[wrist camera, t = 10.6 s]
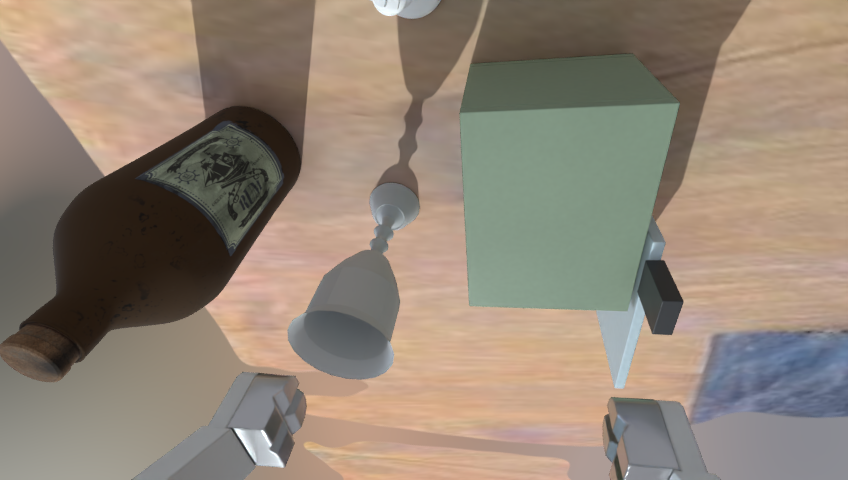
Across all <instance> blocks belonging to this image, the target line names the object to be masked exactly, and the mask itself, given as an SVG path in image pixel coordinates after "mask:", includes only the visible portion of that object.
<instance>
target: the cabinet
mask: <svg viewBox="0 0 848 480" xmlns="http://www.w3.org/2000/svg"><path fill="white" fill-rule="evenodd" d="M679 105H680V102H679V101H678V100H677V99H676V98H675V97H674V96H673V95H672V94H671V93H670V92H669V91H668V90H667V89H666V88H665V87H664V86H663V85H662V84H661V83H660V82H659V81H658V80H657V79H656V78H655V77H654V75H653V74H652V73H651V72H650V71H649V70H648V69H647V68H646V67H645V66H644V65H643V64H642V63H641V62H640V61H639V60H638V59H637V58H636V57H635V55H634V54H632V53H631V54H615V55H600V56H584V57H569V58H553V59H538V60H522V61H507V62H491V63H476V64H470V68H469V73H468V77H467V82H466V86H465V91H464V95H463V100H462V104H461V109H460V113H459V114H460V134H461V154H462V173H463V193H464V212H465V232H466V252H467V271H468V291H469V306H482V307H512V308H541V309H571V310H600V311H628V308H629V304H630V300H631V296H632V292H633V288H634V284H635V280H636V276H637V272H638V268H639V264H640V260H641V256H642V252H643V248H644V244H645V240H646V236H647V232H648V228H649V224H650V220H651V216H652V212H653V208H654V204H655V200H656V196H657V192H658V188H659V184H660V180H661V176H662V172H663V168H664V165H665V161H666V157H667V153H668V149H669V145H670V141H671V137H672V133H673V129H674V125H675V121H676V117H677V113H678V109H679Z"/></svg>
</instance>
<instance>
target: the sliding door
mask: <svg viewBox="0 0 848 480" xmlns="http://www.w3.org/2000/svg"><path fill="white" fill-rule="evenodd" d="M665 243H666V242H665V240H664V238H663V236H662V234H661V232H660V230H659V228H658V226H657V224H656V222H655V220H654V218H653V216H651V220H650V224H649V228H648V232H647V236H646V240H645V244H644V248H643V252H642V256H641V260H640V264H639V268H638V272H637V276H636V280H635V284H634V288H633V292H632V296H631V300H630V304H629V308H628V311H600V310H596V312H597V316H598V321H599V325H600V329H601V333H602V337H603V342H604V346H605V350H606V354H607V358H608V363H609V367H610V371H611V375H612V379H613V383H614V387H615V388H624V386H625V382H626V379H627V375H628V372H629V369H630V365H631V362H632V358H633V355H634V351H635V348H636V344H637V341H638V337H639V334H640V330H641V327H642V323H643V320H644V316H645V315H646V318H647V320H648V323H649V326H650V329H651V331H652V334H663V335H672V333H673V330H674V328H675V325H676V322H677V319H678V316H679V313H680V311H681V308H682V305H683V299H682V297H681V295H680V293H679V291H678V289H677V287H676V284H675V282H674V280H673V278H672V276H671V274H670V272H669V270H668V268H667V265H666V263H665V261H664V260H661V257H662V253H663V250H664V246H665Z"/></svg>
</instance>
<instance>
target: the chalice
mask: <svg viewBox="0 0 848 480" xmlns="http://www.w3.org/2000/svg"><path fill="white" fill-rule="evenodd" d="M370 207H371V211H372V215H373V218H374V220H375V221H376V223H377V224H379V226H377V227H376V228H375V229H374V234H375V236H376V238H375V239H372V240H371V242H370V247H371V250H364V251H361V252H359V253H357V254H355V255H353V256H351V257H349V258H347V259H345V260H344V261H342V262H341V263H340V264H338V265H337V266H336V267H334V268H333V269H332V270H331V271H329V272H328V273H327V274H325V275H324V277H323V279H322V281H321V282H320V284H319V286H318V288H317V290H316V292H315V294H314V296H313V298H312V300H311V302H310V304H309V306H308V308H307V310H306V312H305V313H303V314H301V315H300V316H298V317H297V318H295V319H294V320H292V322H291V324H290V326H289V328H288V341H289V342H290V344H291V346H292V348H293V350H294V351H295V352H296V353H297V354H298V355H299V356H300V357H301V358H302V359H303V360H304V361H305V362H307V363H308V364H310V365H311V366H313V367H314V368H316V369H318V370H320V371H323V372H325V373H328V374H330V375H334V376H338V377H342V378H346V379H368V378H374V377H377V376H379V375H381V374H383V373H385V372H386V371H387V370H388V369H389V368H390V367H391V366H392V364H393V358H394V352H393V349H392V346H391V343H390V341H391V337H392V333H393V330H394V326H395V322H396V318H397V314H398V311H399V305H400V298H399V293H398V288H397V283H396V280H395V277H394V274H393V271H392V269H391V266H390V264H389V261H388V260H387V258H386V257H385V256H384V255H383V252H386V251H387V250H388V244H387V241H388V240H391V239H392V238H393V235H394V234H393V231H392V230H399V229H402V228H403V227H405V226H406V225H408V224H409V223H411V222H412V221H413V220H415V218H416V217H417V215H418V213H419V208H420V206H419V201H418V199H417V197H416V195H415V194H414V193H413V192H412V191H411V190H410V189H409V188H407V187H405V186H404V185H402V184H397V183H385V184H382V185H379V186H378V187H377V188H375V189H374V190H373V192H372V194H371V196H370Z"/></svg>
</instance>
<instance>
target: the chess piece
mask: <svg viewBox="0 0 848 480" xmlns="http://www.w3.org/2000/svg"><path fill="white" fill-rule="evenodd" d="M371 1H373V3H374V6H375V7H376V9H377V10H378V11H379V12H380V13H382V14H384V15H387V16H393V15H396V14H397V15H398V16H401V17H403V18H408V19H416V18H421V17H424V16H426V15H428V14H429V13H431V12H432V11H433V10H434V9H435V8H436V7H437V6H438V4H439V3H440V1H441V0H371Z"/></svg>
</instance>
